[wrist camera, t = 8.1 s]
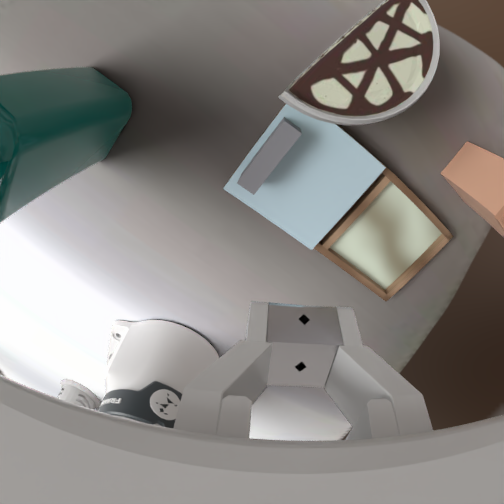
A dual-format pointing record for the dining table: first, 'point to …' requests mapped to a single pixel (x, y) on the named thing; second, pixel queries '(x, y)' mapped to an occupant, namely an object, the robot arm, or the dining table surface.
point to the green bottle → (54, 129)
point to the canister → (479, 182)
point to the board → (384, 235)
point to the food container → (371, 67)
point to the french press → (78, 394)
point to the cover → (303, 175)
